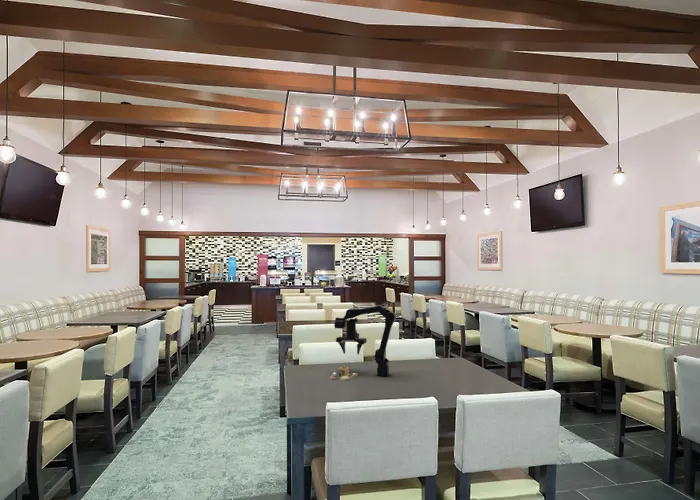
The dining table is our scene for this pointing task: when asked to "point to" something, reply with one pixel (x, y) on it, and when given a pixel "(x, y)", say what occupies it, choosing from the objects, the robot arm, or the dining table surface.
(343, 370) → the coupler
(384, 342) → the robot arm
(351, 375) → the cream mounting plate
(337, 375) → the shaft
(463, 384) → the dining table surface
